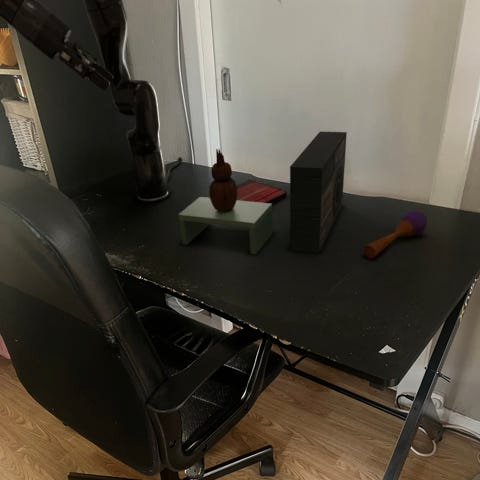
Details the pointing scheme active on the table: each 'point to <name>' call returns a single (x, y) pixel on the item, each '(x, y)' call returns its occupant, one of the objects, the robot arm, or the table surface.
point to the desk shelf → (228, 220)
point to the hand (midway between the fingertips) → (109, 84)
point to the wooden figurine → (222, 185)
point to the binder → (258, 192)
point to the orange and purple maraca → (398, 232)
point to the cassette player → (316, 191)
